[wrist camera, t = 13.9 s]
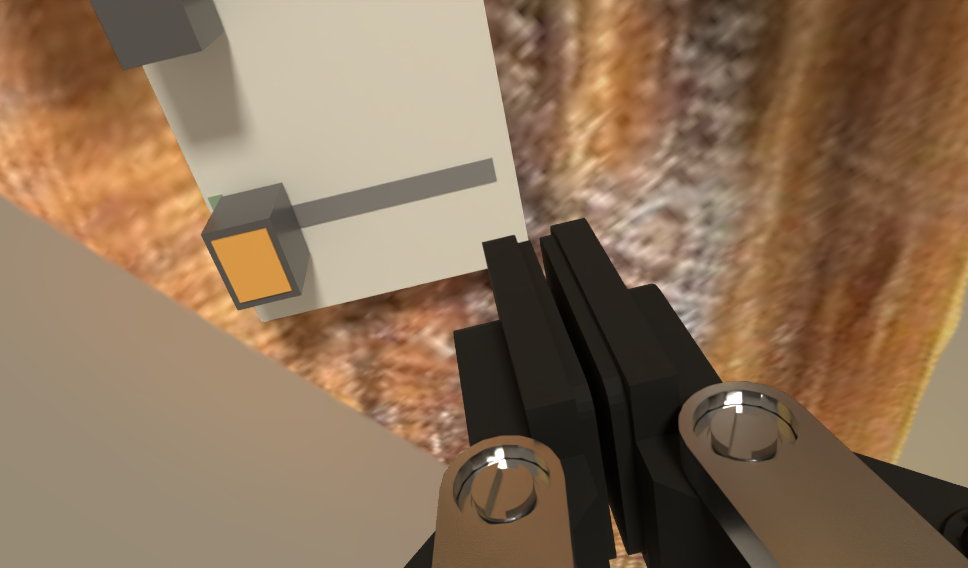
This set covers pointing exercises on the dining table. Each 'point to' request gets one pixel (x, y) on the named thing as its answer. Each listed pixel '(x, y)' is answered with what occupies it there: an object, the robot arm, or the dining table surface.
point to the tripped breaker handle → (257, 246)
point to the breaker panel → (354, 135)
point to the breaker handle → (157, 28)
